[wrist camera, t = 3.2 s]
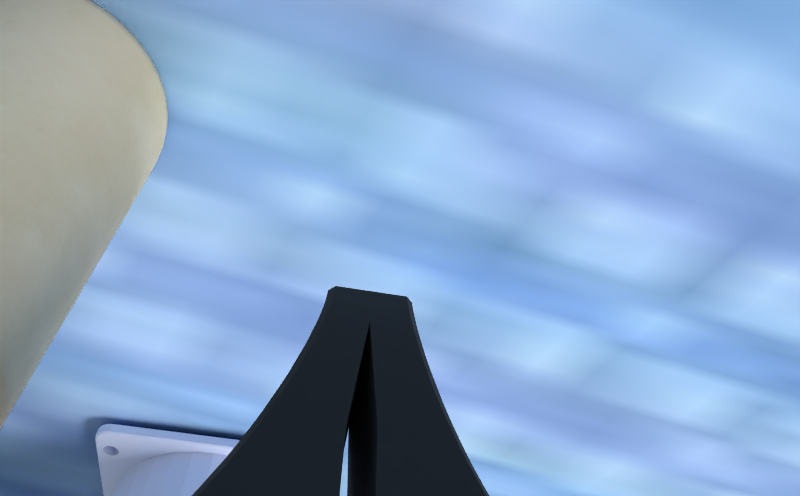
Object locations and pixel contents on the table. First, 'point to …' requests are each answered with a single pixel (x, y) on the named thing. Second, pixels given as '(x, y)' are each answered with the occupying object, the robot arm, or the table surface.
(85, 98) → the candle
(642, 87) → the table surface
